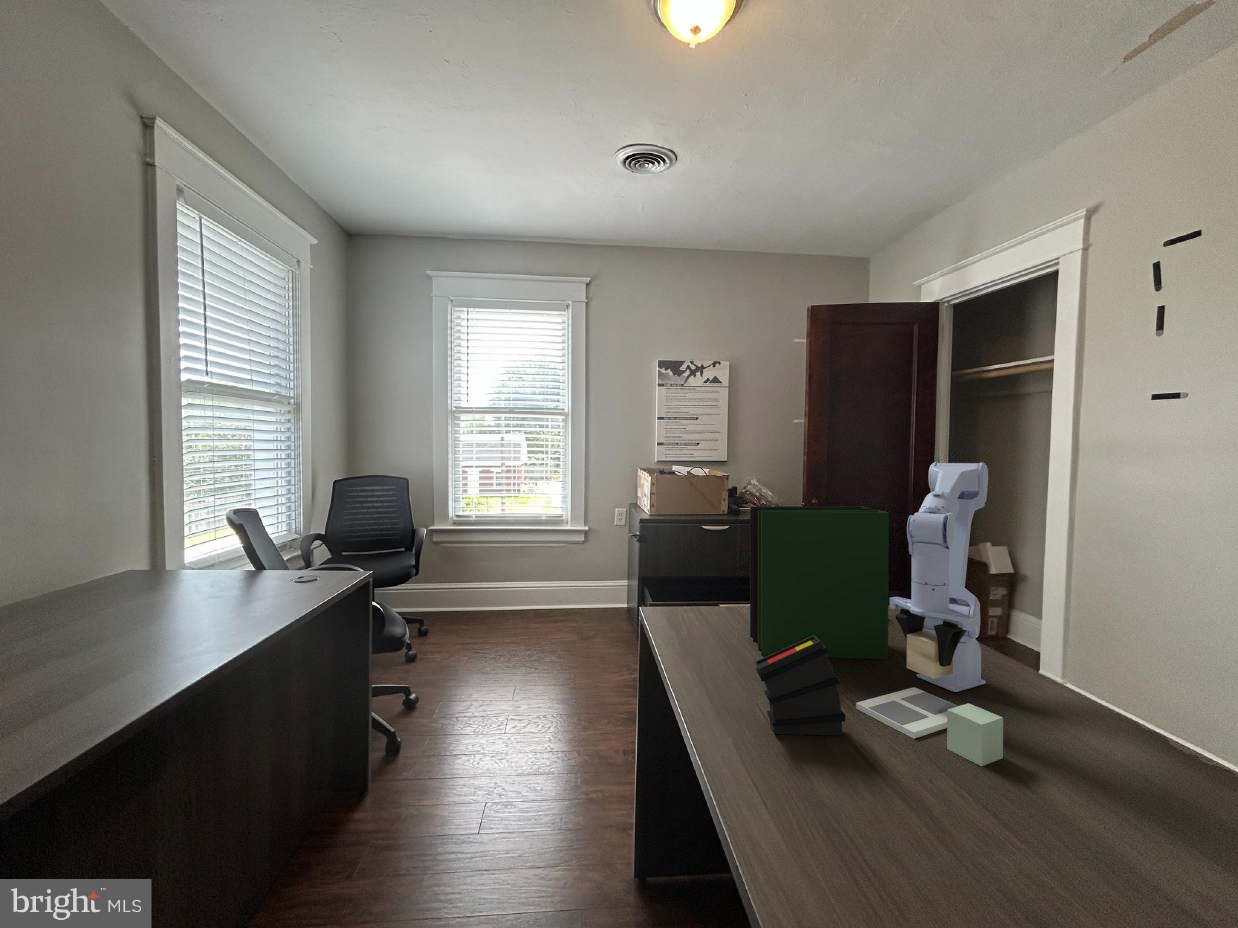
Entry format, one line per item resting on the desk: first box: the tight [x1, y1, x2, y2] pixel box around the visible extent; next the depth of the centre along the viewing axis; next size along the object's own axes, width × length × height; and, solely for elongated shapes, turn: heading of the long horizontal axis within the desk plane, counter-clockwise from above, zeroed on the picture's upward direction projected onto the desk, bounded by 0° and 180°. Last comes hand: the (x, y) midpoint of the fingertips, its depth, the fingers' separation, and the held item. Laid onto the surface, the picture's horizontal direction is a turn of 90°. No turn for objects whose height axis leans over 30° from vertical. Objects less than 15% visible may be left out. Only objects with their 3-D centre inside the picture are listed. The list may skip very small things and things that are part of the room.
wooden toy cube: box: [906, 630, 953, 679], centre depth 93 cm, size 5×5×6 cm
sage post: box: [946, 703, 1004, 767], centre depth 79 cm, size 5×5×6 cm
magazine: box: [754, 635, 846, 737], centre depth 86 cm, size 4×13×15 cm, turn 87°
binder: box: [749, 505, 890, 660], centre depth 124 cm, size 27×15×32 cm, turn 87°
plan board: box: [855, 687, 959, 739], centre depth 91 cm, size 15×11×1 cm
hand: (929, 659), depth 93 cm, fingers closed on wooden toy cube, 5 cm apart
